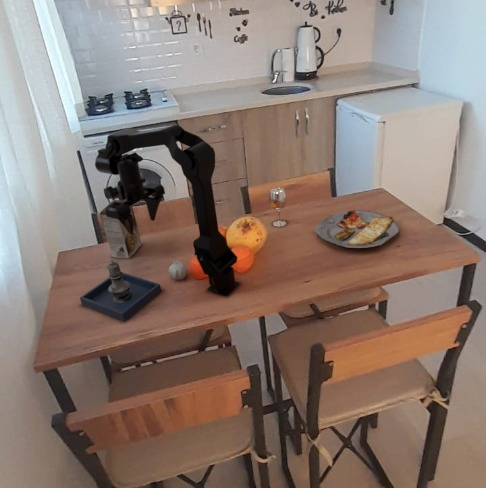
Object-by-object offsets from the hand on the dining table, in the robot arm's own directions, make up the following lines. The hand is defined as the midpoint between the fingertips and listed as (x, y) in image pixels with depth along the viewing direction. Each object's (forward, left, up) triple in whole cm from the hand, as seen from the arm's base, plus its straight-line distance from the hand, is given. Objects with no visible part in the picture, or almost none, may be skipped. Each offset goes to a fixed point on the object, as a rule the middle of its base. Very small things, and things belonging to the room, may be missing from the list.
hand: (142, 227), depth 136 cm
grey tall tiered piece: (-4, +16, -13) cm, 21 cm away
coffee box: (+14, -3, -13) cm, 19 cm away
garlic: (-12, +2, -13) cm, 18 cm away
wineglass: (-23, -38, -13) cm, 47 cm away
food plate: (-49, -41, -13) cm, 66 cm away
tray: (-4, +17, -13) cm, 22 cm away
